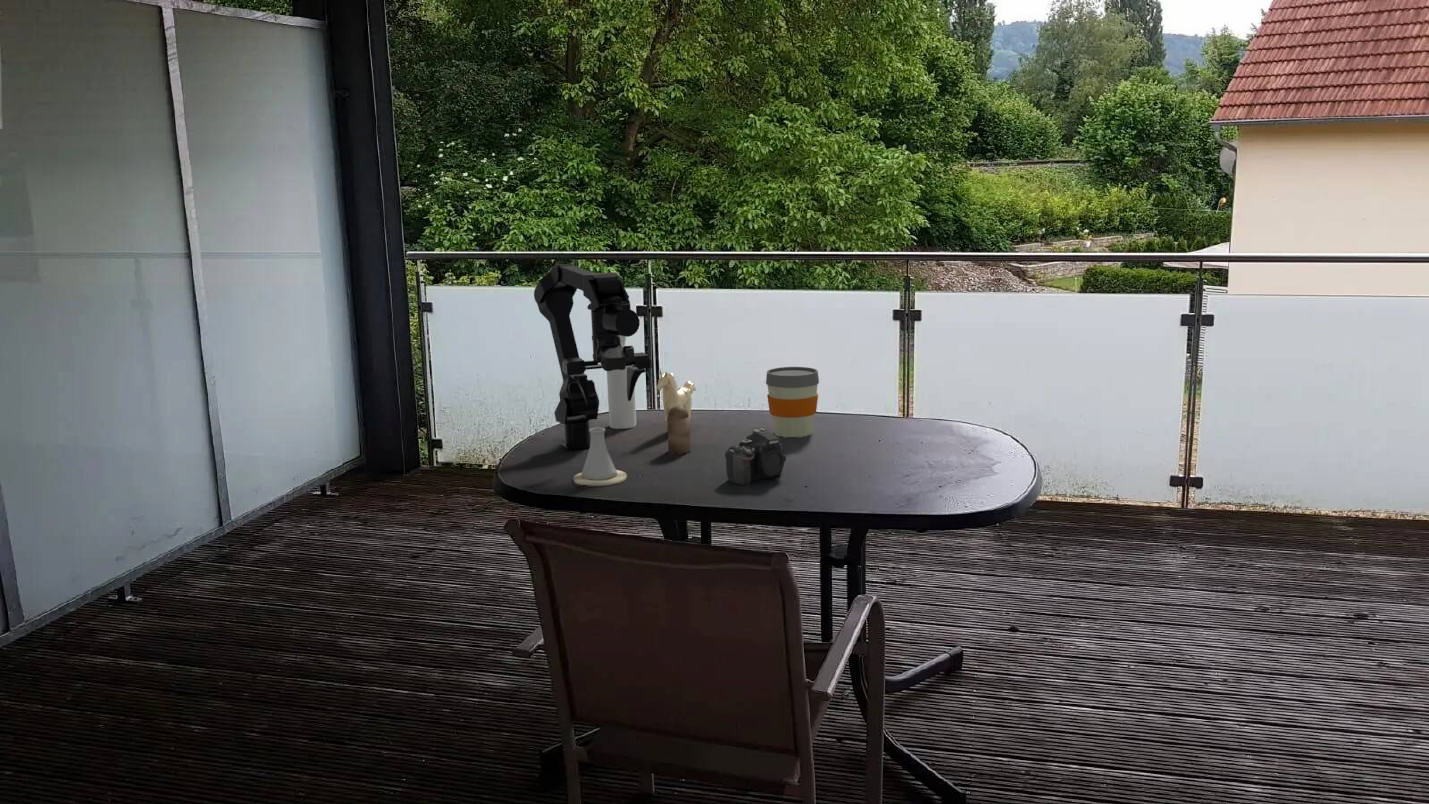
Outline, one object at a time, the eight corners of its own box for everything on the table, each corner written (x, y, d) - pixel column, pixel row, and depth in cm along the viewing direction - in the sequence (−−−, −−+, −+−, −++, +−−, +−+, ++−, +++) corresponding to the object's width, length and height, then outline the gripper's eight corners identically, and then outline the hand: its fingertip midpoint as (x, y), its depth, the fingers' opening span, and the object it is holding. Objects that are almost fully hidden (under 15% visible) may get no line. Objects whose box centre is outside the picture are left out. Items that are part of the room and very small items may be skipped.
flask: (595, 482, 233) (593, 435, 230) (575, 476, 238) (572, 429, 236) (624, 475, 237) (621, 428, 235) (603, 469, 243) (600, 423, 240)
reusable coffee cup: (828, 430, 274) (828, 368, 271) (804, 441, 264) (803, 377, 261) (783, 425, 281) (781, 365, 278) (757, 436, 271) (755, 373, 268)
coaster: (568, 475, 241) (568, 472, 241) (619, 469, 244) (619, 467, 244) (580, 488, 231) (580, 486, 231) (632, 482, 234) (632, 479, 234)
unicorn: (688, 421, 289) (685, 354, 285) (702, 422, 287) (700, 354, 284) (652, 439, 271) (649, 368, 267) (667, 440, 269) (664, 368, 266)
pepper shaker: (665, 450, 260) (663, 405, 258) (686, 447, 262) (685, 403, 259) (672, 455, 255) (670, 409, 253) (693, 452, 257) (691, 407, 255)
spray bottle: (635, 428, 282) (630, 328, 277) (608, 429, 282) (603, 328, 277) (637, 422, 289) (633, 324, 284) (610, 423, 289) (606, 325, 284)
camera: (761, 489, 227) (760, 440, 225) (720, 482, 233) (719, 434, 231) (796, 473, 237) (796, 426, 235) (756, 467, 243) (755, 421, 241)
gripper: (570, 340, 236) (574, 413, 239) (657, 333, 242) (660, 405, 245) (559, 333, 246) (563, 404, 250) (643, 326, 252) (646, 396, 256)
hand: (608, 402), depth 250 cm, fingers open, 9 cm apart
